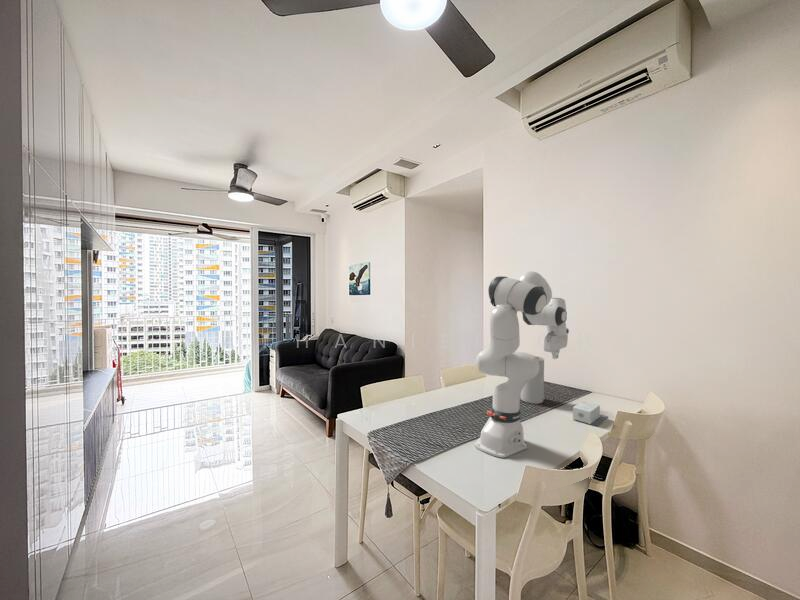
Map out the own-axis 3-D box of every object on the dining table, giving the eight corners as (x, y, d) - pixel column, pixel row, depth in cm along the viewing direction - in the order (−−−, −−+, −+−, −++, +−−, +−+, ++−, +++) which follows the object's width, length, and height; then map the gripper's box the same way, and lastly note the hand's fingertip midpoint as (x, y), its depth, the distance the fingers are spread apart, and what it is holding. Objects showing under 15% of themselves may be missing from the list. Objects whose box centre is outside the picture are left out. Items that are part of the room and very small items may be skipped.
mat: (597, 426, 150) (597, 425, 150) (577, 420, 156) (577, 419, 156) (607, 417, 160) (607, 416, 160) (587, 411, 167) (587, 411, 167)
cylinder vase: (536, 396, 191) (537, 355, 190) (547, 404, 178) (548, 360, 177) (516, 396, 190) (517, 355, 189) (526, 404, 178) (527, 360, 176)
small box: (590, 424, 151) (600, 417, 159) (590, 411, 150) (600, 404, 159) (572, 419, 157) (582, 412, 165) (572, 406, 157) (582, 400, 165)
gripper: (554, 333, 145) (553, 363, 146) (570, 329, 159) (569, 356, 160) (540, 332, 150) (539, 360, 151) (557, 328, 164) (556, 354, 164)
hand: (555, 358), depth 155 cm, fingers closed
